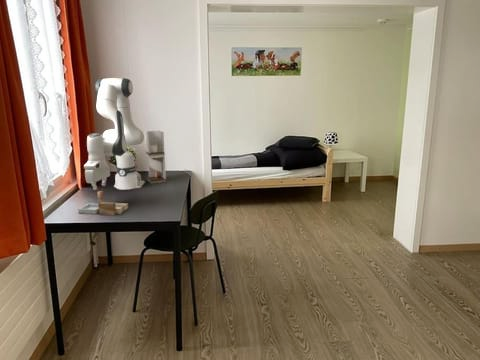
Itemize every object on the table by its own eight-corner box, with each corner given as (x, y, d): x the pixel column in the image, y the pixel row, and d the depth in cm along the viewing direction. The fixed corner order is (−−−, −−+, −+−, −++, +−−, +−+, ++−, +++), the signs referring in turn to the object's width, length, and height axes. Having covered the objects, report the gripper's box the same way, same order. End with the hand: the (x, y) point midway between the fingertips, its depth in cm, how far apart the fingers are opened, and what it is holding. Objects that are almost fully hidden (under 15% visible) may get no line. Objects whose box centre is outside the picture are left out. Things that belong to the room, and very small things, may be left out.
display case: (147, 179, 271) (144, 131, 262) (162, 178, 275) (159, 130, 267) (151, 183, 261) (147, 133, 252) (166, 181, 265) (163, 132, 257)
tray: (88, 207, 208) (88, 203, 207) (105, 208, 206) (105, 204, 206) (78, 213, 198) (78, 209, 197) (96, 214, 196) (95, 209, 196)
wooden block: (102, 212, 199) (101, 202, 197) (116, 213, 197) (115, 202, 196) (99, 214, 196) (98, 203, 194) (113, 215, 195) (112, 204, 193)
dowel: (100, 204, 213) (98, 190, 211) (105, 204, 213) (103, 190, 211) (97, 206, 210) (96, 192, 208) (102, 206, 210) (101, 192, 208)
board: (107, 207, 209) (107, 202, 208) (128, 208, 207) (127, 203, 206) (98, 213, 199) (98, 208, 198) (120, 214, 197) (119, 209, 197)
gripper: (101, 160, 216) (103, 183, 219) (81, 166, 196) (84, 191, 199) (111, 160, 215) (113, 183, 218) (93, 166, 195) (95, 192, 198)
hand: (99, 187), depth 209 cm, fingers open, 8 cm apart
